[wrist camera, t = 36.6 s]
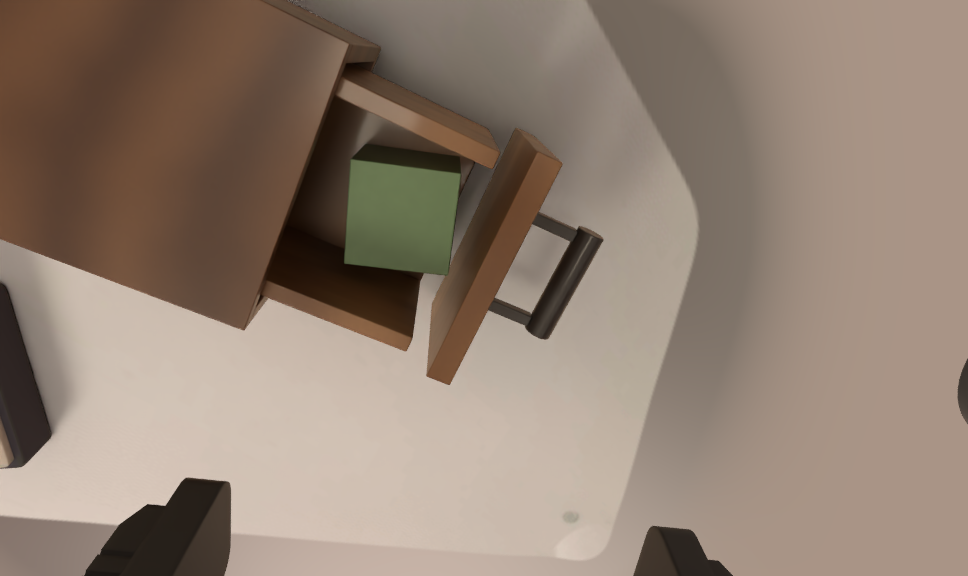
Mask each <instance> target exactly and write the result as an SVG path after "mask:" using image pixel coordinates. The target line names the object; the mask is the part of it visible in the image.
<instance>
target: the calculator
mask: <svg viewBox="0 0 968 576" xmlns="http://www.w3.org/2000/svg"><path fill="white" fill-rule="evenodd" d="M50 437H51V433H50V430H49V427H48V423H47V420H46V417H45V414H44V410H43V407H42V404H41V401H40V397H39V394H38V391H37V387H36V384H35V381H34V378H33V374H32V371H31V368H30V365H29V361H28V358H27V355H26V352H25V348H24V345H23V342H22V339H21V335H20V332H19V329H18V326H17V322H16V319H15V316H14V313H13V309H12V306H11V303H10V299H9V296H8V293H7V290H6V288H5V287H4V286H3V285H2V284H0V469H2V468H17V467H22V466H24V465H25V464H26V463H27V462H28V461H29V460H30V459H31V458H32V457H33V456H34V455H35V454H36V453H37V452H38V451H39V450H40V449H41V448H42V447H43V445H44V444H45V443H46V442H47V441H48V440H49V439H50Z"/></svg>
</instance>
